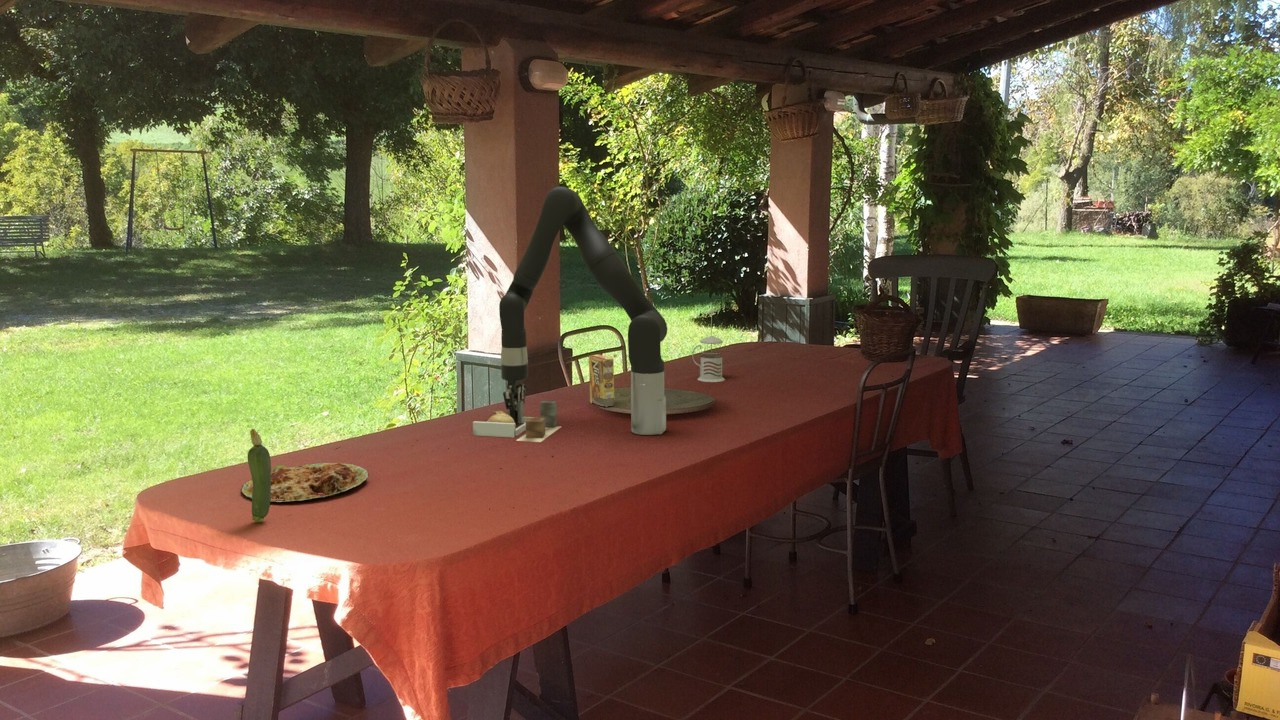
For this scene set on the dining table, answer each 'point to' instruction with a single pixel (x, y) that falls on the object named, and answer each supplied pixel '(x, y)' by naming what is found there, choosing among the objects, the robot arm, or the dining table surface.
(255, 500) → the vegetable
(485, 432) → the grey rectangular frame
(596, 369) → the candy box
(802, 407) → the dining table surface
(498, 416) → the onion
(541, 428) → the walnut cube
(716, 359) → the french press
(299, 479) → the rice dish
